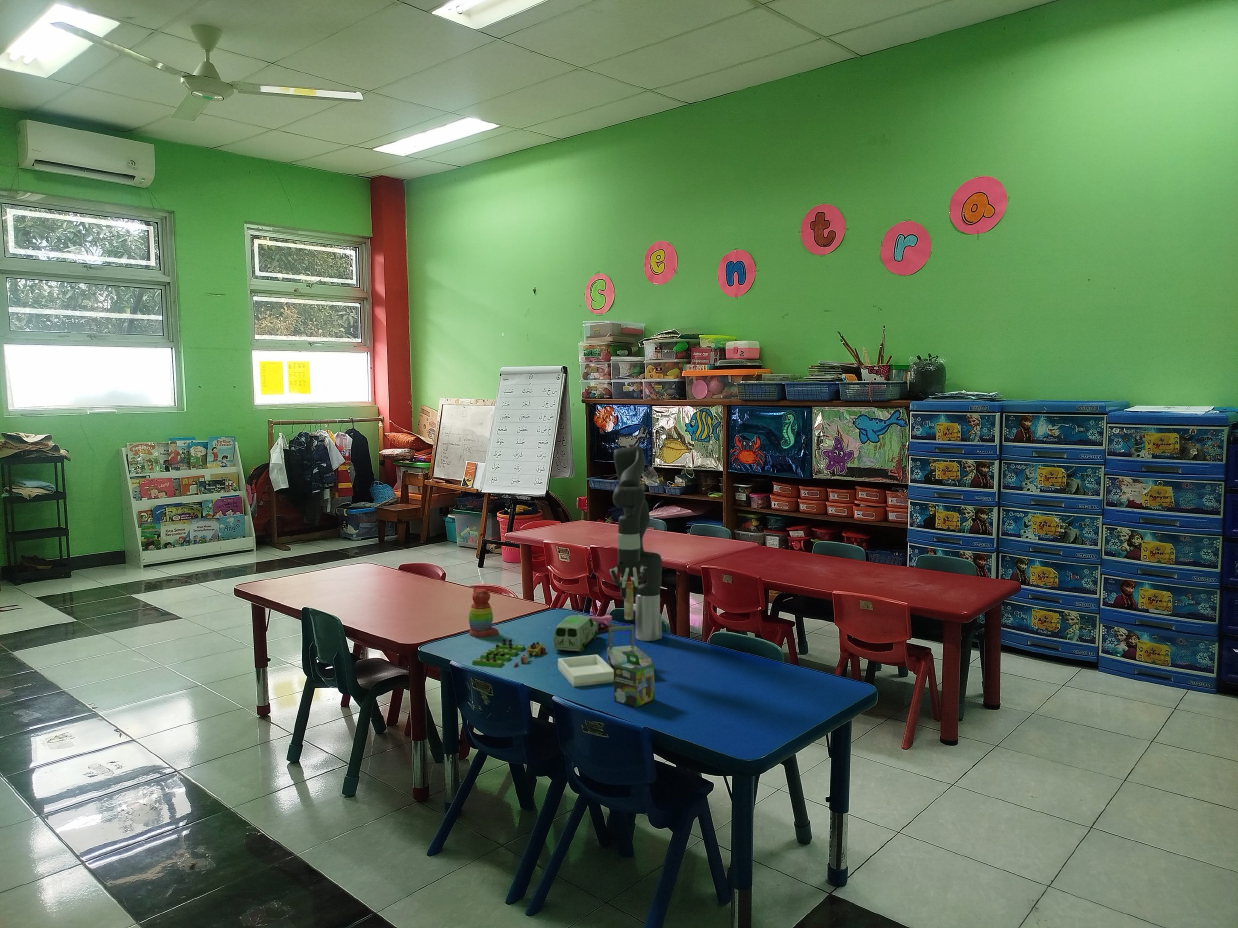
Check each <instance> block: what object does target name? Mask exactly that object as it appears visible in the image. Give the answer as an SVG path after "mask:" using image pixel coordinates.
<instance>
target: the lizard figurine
mask: <svg viewBox="0 0 1238 928" xmlns="http://www.w3.org/2000/svg"><path fill="white" fill-rule="evenodd" d="M578 616H583V615H582V614H578ZM588 617H591V619H592V620H593V622H596V623H597V630H598V633H596V636H599V635H604V634H609V628H611V627H621V625H618V624H616V623H611V621H612V620H613V616H612V615H610V614H609V615H603V616H590V615H588Z"/></svg>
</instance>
